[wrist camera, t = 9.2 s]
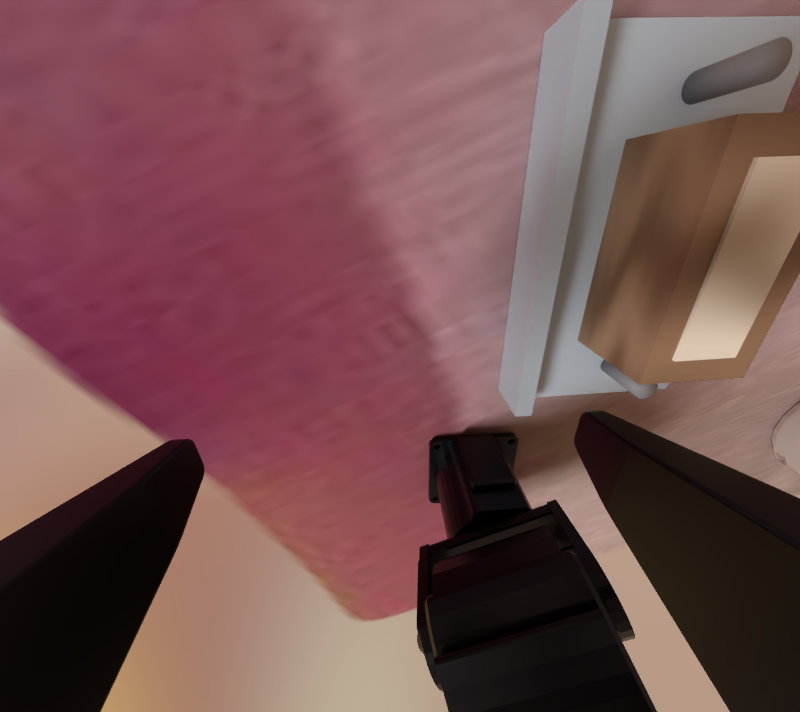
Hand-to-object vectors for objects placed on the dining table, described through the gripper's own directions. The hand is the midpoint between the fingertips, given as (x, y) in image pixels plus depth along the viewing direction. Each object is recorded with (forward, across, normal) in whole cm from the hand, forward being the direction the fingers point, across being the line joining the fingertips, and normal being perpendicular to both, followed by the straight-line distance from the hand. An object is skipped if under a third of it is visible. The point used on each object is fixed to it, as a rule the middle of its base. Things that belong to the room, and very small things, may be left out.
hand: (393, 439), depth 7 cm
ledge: (+12, -14, -2) cm, 18 cm away
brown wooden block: (+11, -14, -2) cm, 18 cm away
